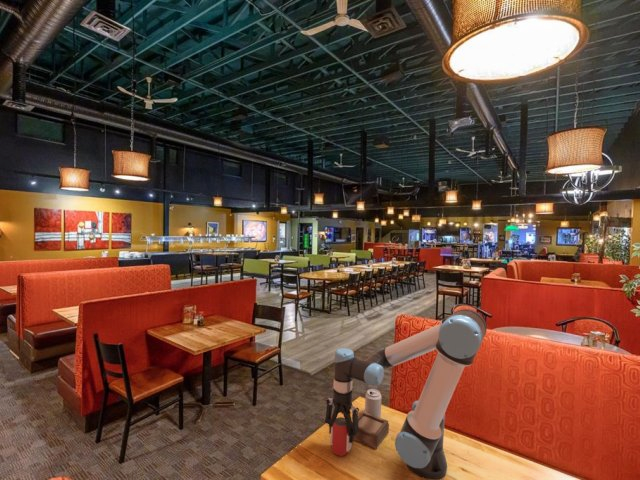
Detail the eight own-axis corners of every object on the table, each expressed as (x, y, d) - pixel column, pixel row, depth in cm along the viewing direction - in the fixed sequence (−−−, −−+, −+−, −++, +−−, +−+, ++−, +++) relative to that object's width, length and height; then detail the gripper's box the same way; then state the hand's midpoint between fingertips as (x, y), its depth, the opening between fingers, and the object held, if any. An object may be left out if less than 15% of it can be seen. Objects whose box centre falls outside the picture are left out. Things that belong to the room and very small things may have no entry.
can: (364, 411, 154) (365, 387, 154) (380, 413, 153) (381, 388, 153) (364, 420, 147) (365, 395, 146) (381, 422, 146) (382, 397, 145)
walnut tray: (388, 432, 139) (389, 420, 138) (376, 449, 128) (377, 436, 128) (361, 421, 146) (362, 410, 146) (348, 436, 135) (348, 424, 135)
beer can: (347, 458, 122) (348, 427, 121) (330, 455, 123) (331, 425, 123) (349, 446, 128) (350, 417, 128) (333, 443, 130) (334, 415, 129)
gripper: (369, 392, 123) (367, 450, 124) (327, 378, 134) (325, 431, 135) (360, 401, 117) (358, 461, 118) (317, 385, 127) (315, 440, 128)
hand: (340, 445), depth 126 cm, fingers closed on beer can, 6 cm apart
